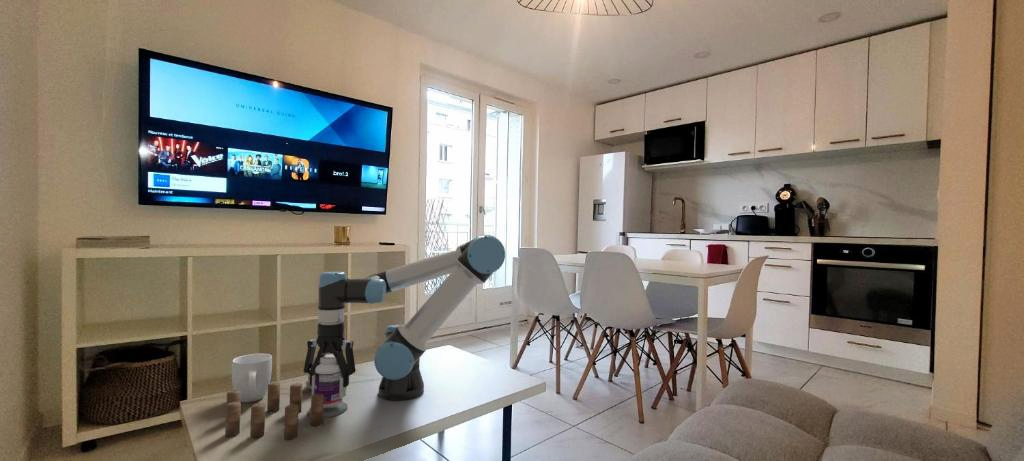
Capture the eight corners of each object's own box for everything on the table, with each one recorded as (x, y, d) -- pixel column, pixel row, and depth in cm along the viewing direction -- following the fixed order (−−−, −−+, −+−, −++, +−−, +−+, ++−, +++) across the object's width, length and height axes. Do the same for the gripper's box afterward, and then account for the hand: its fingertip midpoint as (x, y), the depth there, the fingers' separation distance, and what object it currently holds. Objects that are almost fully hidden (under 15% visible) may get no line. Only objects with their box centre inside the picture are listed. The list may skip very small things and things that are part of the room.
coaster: (353, 403, 130) (353, 401, 130) (336, 419, 119) (336, 417, 119) (320, 401, 130) (320, 399, 130) (300, 416, 119) (300, 414, 119)
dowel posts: (336, 411, 123) (337, 385, 124) (300, 442, 105) (301, 411, 105) (250, 406, 126) (251, 380, 126) (200, 435, 107) (201, 404, 108)
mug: (272, 405, 127) (274, 363, 127) (229, 413, 121) (231, 369, 121) (269, 389, 139) (271, 351, 139) (231, 396, 133) (232, 356, 133)
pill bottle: (320, 398, 128) (321, 352, 128) (346, 398, 129) (347, 352, 129) (309, 409, 120) (311, 360, 120) (337, 409, 121) (339, 360, 121)
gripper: (369, 321, 128) (367, 393, 128) (305, 318, 129) (303, 390, 129) (358, 326, 120) (356, 403, 120) (291, 323, 122) (288, 399, 122)
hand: (328, 396), depth 125 cm, fingers closed on pill bottle, 8 cm apart
